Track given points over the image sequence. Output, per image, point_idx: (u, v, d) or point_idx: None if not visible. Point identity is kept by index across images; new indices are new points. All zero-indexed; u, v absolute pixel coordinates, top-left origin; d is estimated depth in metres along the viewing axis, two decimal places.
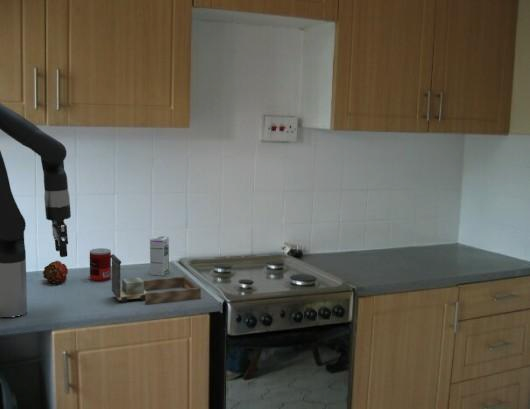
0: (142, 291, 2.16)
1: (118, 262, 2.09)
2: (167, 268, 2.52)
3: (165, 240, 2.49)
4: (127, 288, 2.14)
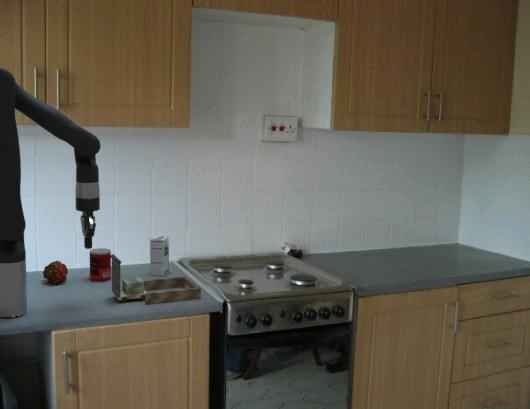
0: (142, 291, 2.16)
1: (118, 262, 2.09)
2: (167, 268, 2.52)
3: (165, 240, 2.49)
4: (127, 288, 2.14)
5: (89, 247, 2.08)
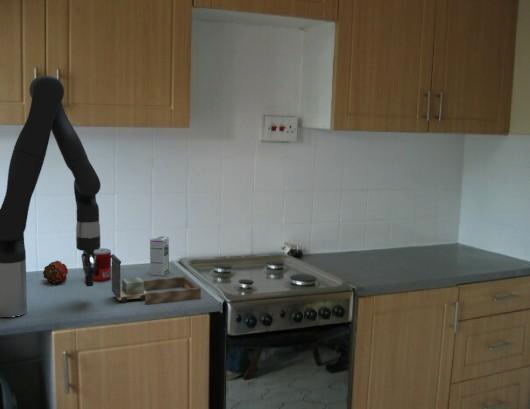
0: (142, 291, 2.16)
1: (118, 262, 2.09)
2: (167, 268, 2.52)
3: (165, 240, 2.49)
4: (127, 288, 2.14)
5: (90, 285, 2.10)
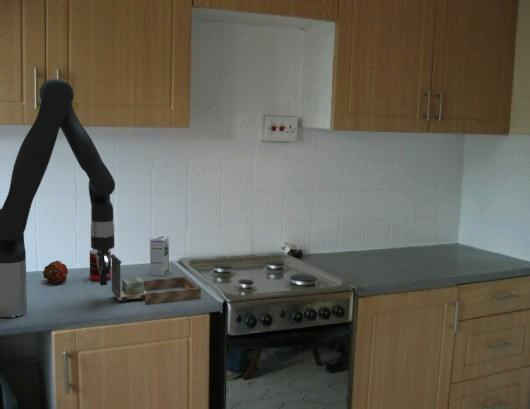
0: (142, 291, 2.16)
1: (118, 262, 2.09)
2: (167, 268, 2.52)
3: (165, 240, 2.49)
4: (127, 288, 2.14)
5: (104, 284, 2.12)
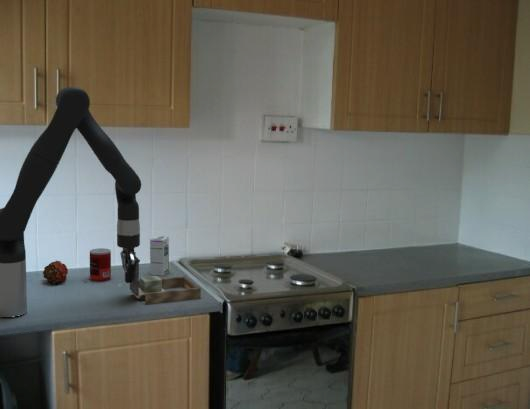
0: (160, 289, 2.19)
1: (137, 260, 2.12)
2: (167, 268, 2.52)
3: (165, 240, 2.49)
4: (145, 286, 2.16)
5: (129, 281, 2.16)
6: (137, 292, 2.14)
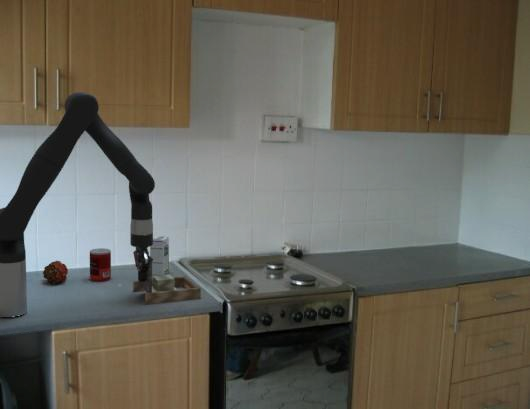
0: (172, 288, 2.21)
1: (150, 259, 2.14)
2: (167, 268, 2.52)
3: (165, 240, 2.49)
4: (158, 285, 2.18)
5: (142, 280, 2.18)
6: (150, 291, 2.16)
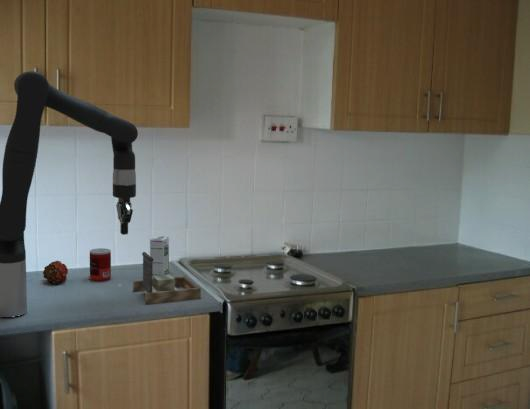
0: (173, 288, 2.21)
1: (150, 259, 2.14)
2: (167, 268, 2.52)
3: (165, 240, 2.49)
4: (159, 285, 2.19)
5: (125, 233, 2.13)
6: (151, 291, 2.16)
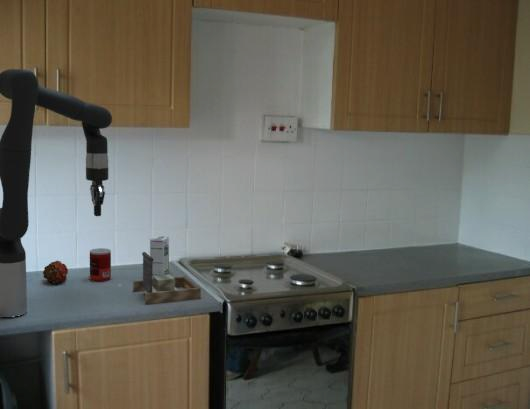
0: (173, 288, 2.21)
1: (150, 259, 2.14)
2: (167, 268, 2.52)
3: (165, 240, 2.49)
4: (159, 285, 2.19)
5: (98, 215, 2.22)
6: (151, 291, 2.16)
